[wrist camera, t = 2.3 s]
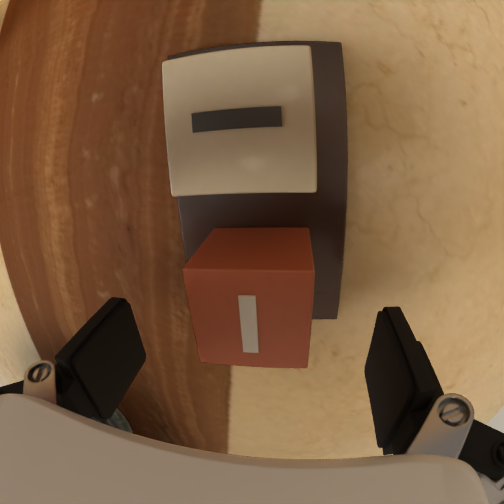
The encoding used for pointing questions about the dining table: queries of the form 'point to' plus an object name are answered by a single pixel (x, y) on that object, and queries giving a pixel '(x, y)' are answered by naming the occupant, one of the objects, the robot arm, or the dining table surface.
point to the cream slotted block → (241, 121)
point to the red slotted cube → (252, 297)
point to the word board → (293, 204)
